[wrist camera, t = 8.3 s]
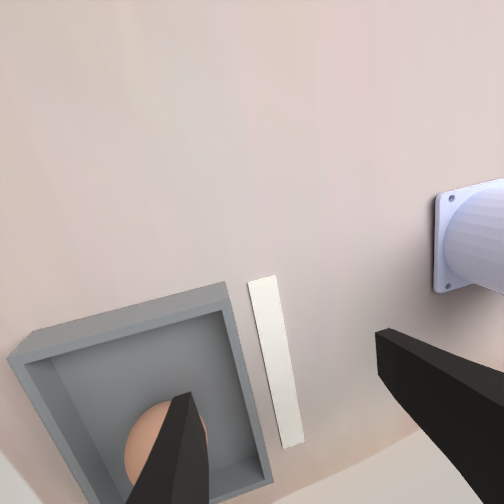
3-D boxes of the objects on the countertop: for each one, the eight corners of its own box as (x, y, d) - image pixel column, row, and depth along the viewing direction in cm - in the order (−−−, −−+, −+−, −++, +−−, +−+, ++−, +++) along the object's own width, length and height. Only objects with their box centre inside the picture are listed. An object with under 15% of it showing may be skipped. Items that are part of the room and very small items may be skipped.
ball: (197, 375, 20) (200, 440, 15) (211, 428, 21) (217, 501, 16) (123, 395, 19) (102, 471, 14) (143, 448, 20) (130, 532, 16)
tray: (224, 281, 19) (229, 298, 16) (265, 449, 24) (273, 482, 21) (32, 331, 17) (6, 358, 15) (120, 501, 22) (111, 542, 20)
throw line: (275, 274, 19) (275, 275, 19) (304, 440, 24) (304, 441, 24) (247, 282, 19) (247, 282, 19) (282, 448, 24) (283, 449, 24)
